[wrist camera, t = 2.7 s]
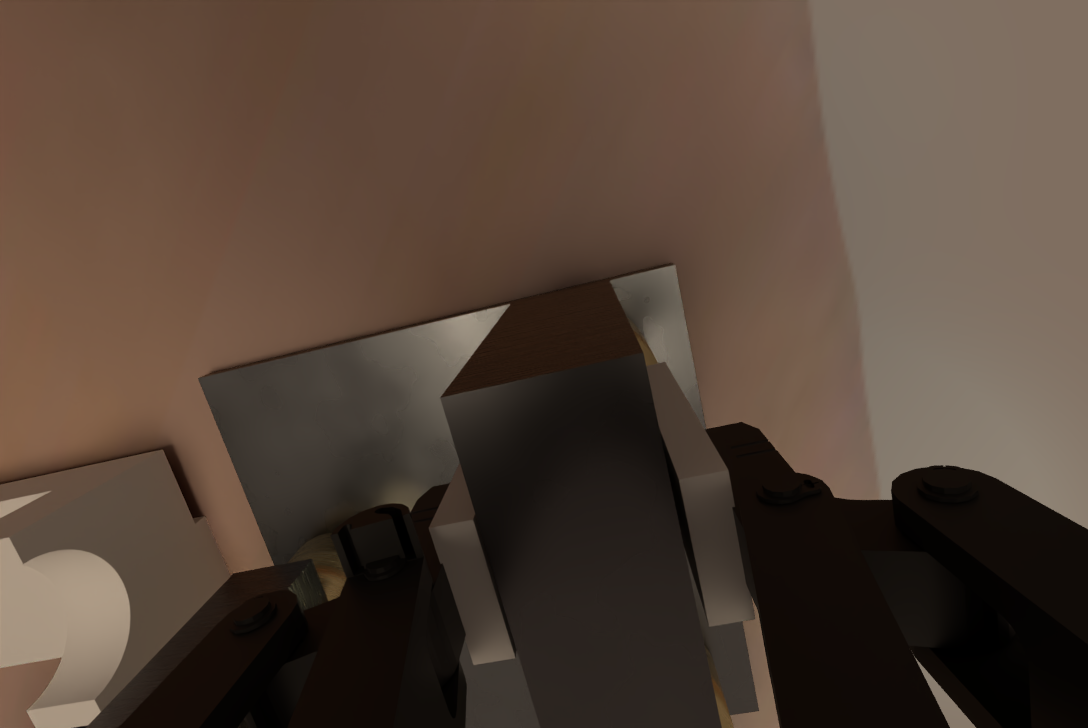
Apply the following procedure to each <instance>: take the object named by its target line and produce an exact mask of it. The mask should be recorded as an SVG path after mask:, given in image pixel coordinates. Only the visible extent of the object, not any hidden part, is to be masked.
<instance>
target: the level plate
mask: <svg viewBox="0 0 1088 728" xmlns="http://www.w3.org/2000/svg"><path fill="white" fill-rule="evenodd" d="M607 280H610V282H611V284H612V287H613V289H614V291H615V293H616V295H617V297H618V299H619V302H620V304H621V306H622V308H623V310H624V312H625V314H626V317H627V318H628V319H630V320H631V321H632V322H633V323H634V324H635V325H636V326H637V328H638V329H639V330H640V331H641V333H642V335H643V336H644V338H645V340H646V341H647V343H648V345H649V347H650V349H651V351H652V353H653V355H654V356H655V358H656V360H657V362H658V363H662V362H665V363H666V364H667V366H668V368H669V369H670V371H671V373H672V375H673V376H674V378H675V380H676V381H677V383H678V385H679V387H680V388H681V390H682V392H683V393H684V395H685V397H686V398H687V400H688V402H689V404H690V405H691V407H692V409H693V410H694V412H695V414H696V416H697V417H698V419H699V421H700V422H701V424H702V426H703V428H704V429H706V426H705V421H704V416H703V410H702V405H701V400H700V394H699V389H698V384H697V378H696V373H695V368H694V363H693V357H692V352H691V347H690V341H689V336H688V331H687V325H686V320H685V315H684V309H683V304H682V299H681V293H680V288H679V283H678V277H677V272H676V267H675V264H673V263H669V264H664V265H660V266H656V267H652V268H648V269H644V270H639V271H635V272H631V273H627V274H623V275H618V276H614V277H610V278H606V279H602V280H597V281H593V282H589V283H585V284H581V285H577V286H572V287H568V288H564V289H560V290H556V291H551V292H547V293H543V294H539V295H535V296H530V297H526V298H522V299H518V300H514V301H510V302H505V303H501V304H497V305H493V306H489V307H484V308H480V309H476V310H472V311H468V312H463V313H459V314H455V315H451V316H447V317H443V318H438V319H434V320H430V321H426V322H422V323H417V324H413V325H409V326H405V327H401V328H396V329H392V330H388V331H384V332H380V333H376V334H371V335H367V336H363V337H359V338H355V339H350V340H346V341H342V342H338V343H334V344H329V345H325V346H321V347H317V348H313V349H309V350H304V351H300V352H296V353H292V354H288V355H283V356H279V357H275V358H271V359H267V360H262V361H258V362H254V363H250V364H246V365H242V366H237V367H233V368H229V369H225V370H221V371H216V372H212V373H209V374H207V375H205V376H202V377H200V378H198V379H199V382H200V384H201V387H202V389H203V392H204V394H205V397H206V399H207V402H208V404H209V406H210V409H211V411H212V414H213V416H214V419H215V421H216V424H217V426H218V428H219V431H220V433H221V436H222V438H223V441H224V443H225V446H226V448H227V450H228V453H229V455H230V458H231V460H232V463H233V465H234V468H235V470H236V473H237V475H238V477H239V480H240V482H241V485H242V487H243V490H244V492H245V495H246V497H247V499H248V502H249V504H250V507H251V509H252V512H253V514H254V517H255V519H256V521H257V524H258V526H259V529H260V531H261V534H262V536H263V539H264V541H265V543H266V546H267V548H268V551H269V553H270V556H271V558H272V561H273V563H274V566H276V565H281V564H286V563H288V562H289V560H290V559H291V558H292V557H293V556H294V554H295V553H296V552H297V551H298V550H299V549H300V548H301V546H303V545H304V544H305V543H306V542H308V541H309V540H311V539H313V538H315V537H317V536H320V535H323V534H327V533H333V531H334V530H335V529H336V528H337V527H338V526H339V525H340V524H342V523H343V522H344V521H346V520H347V519H348V518H350V517H352V516H354V515H356V514H358V513H360V512H362V511H364V510H367V509H370V508H372V507H375V506H379V505H384V504H389V503H399V504H404V505H405V506H407V507H409V510H410V512H411V510H412V508H413V507H414V505H415V503H416V501H417V500H418V499H419V498H420V497H421V496H422V495H423V494H424V493H426V492H427V491H428V490H429V489H430V488H431V487H433V486H438V485H443V484H448V483H450V482H451V480H452V478H453V476H454V474H455V472H456V470H457V467H458V465H459V463H460V462H459V459H458V455H457V452H456V449H455V445H454V442H453V439H452V435H451V432H450V429H449V426H448V422H447V419H446V416H445V412H444V409H443V406H442V403H441V399H440V397H441V396H442V394H443V393H444V392H445V390H446V389H447V388H448V387H449V385H450V384H451V383H452V381H453V380H454V379H455V377H456V376H457V375H458V373H459V372H460V371H461V369H462V368H463V367H464V365H465V364H466V363H467V361H468V360H469V359H470V357H471V356H472V355H473V353H474V352H475V351H476V349H477V348H478V347H479V345H480V344H481V343H482V341H483V340H484V339H485V337H486V336H487V335H488V333H489V332H490V331H491V329H492V328H493V327H494V325H495V324H496V323H497V321H498V320H499V319H500V317H501V316H502V315H503V313H504V312H505V311H506V309H507V308H508V307H509V305H510V304H511V303H515V302H519V301H523V300H528V299H532V298H536V297H540V296H544V295H549V294H553V293H557V292H561V291H565V290H570V289H574V288H578V287H582V286H586V285H591V284H595V283H599V282H603V281H607ZM685 554H686V552H685ZM686 559H687V564H688V568H689V573H690V578H691V583H692V588H693V592H694V597H695V602H696V607H697V611H698V616H699V621H700V626H701V631H702V635H703V640H704V645H705V647H706V648H707V649H708V651H709V652H710V654H711V656H712V658H713V661H714V664H715V668H716V671H717V674H718V677H719V681H720V684H721V687H722V691H723V694H724V697H725V701H726V704H727V707H728V711H729V714H730V715H734V714H741V713H748V712H755V711H759V708H758V703H757V698H756V692H755V687H754V682H753V677H752V671H751V666H750V661H749V655H748V650H747V645H746V639H745V634H744V629H743V623H742V621H741V622H735V623H729V624H723V625H717V626H711V627H709V625H708V622H707V618H706V615H705V612H704V609H703V606H702V603H701V600H700V596H699V593H698V590H697V587H696V584H695V581H694V577H693V574H692V571H691V568H690V565H689V562H688V558H687V555H686ZM459 660H460V663H461V666H462V669H463V672H464V675H465V679H466V683H467V696H466V725H465V728H540V725H539V722H538V718H537V715H536V712H535V708H534V705H533V702H532V699H531V695H530V692H529V689H528V685H527V682H526V679H525V676H524V672H523V669H522V666H521V662H520V659H519V656H518V653H517V651H516V658H514V659H508V660H502V661H496V662H489V663H483V664H477V665H473V662H472V659H471V656H470V653H469V650H468V647H467V644H466V640H464V644H463V648H462V651H461V655H460V659H459Z"/></svg>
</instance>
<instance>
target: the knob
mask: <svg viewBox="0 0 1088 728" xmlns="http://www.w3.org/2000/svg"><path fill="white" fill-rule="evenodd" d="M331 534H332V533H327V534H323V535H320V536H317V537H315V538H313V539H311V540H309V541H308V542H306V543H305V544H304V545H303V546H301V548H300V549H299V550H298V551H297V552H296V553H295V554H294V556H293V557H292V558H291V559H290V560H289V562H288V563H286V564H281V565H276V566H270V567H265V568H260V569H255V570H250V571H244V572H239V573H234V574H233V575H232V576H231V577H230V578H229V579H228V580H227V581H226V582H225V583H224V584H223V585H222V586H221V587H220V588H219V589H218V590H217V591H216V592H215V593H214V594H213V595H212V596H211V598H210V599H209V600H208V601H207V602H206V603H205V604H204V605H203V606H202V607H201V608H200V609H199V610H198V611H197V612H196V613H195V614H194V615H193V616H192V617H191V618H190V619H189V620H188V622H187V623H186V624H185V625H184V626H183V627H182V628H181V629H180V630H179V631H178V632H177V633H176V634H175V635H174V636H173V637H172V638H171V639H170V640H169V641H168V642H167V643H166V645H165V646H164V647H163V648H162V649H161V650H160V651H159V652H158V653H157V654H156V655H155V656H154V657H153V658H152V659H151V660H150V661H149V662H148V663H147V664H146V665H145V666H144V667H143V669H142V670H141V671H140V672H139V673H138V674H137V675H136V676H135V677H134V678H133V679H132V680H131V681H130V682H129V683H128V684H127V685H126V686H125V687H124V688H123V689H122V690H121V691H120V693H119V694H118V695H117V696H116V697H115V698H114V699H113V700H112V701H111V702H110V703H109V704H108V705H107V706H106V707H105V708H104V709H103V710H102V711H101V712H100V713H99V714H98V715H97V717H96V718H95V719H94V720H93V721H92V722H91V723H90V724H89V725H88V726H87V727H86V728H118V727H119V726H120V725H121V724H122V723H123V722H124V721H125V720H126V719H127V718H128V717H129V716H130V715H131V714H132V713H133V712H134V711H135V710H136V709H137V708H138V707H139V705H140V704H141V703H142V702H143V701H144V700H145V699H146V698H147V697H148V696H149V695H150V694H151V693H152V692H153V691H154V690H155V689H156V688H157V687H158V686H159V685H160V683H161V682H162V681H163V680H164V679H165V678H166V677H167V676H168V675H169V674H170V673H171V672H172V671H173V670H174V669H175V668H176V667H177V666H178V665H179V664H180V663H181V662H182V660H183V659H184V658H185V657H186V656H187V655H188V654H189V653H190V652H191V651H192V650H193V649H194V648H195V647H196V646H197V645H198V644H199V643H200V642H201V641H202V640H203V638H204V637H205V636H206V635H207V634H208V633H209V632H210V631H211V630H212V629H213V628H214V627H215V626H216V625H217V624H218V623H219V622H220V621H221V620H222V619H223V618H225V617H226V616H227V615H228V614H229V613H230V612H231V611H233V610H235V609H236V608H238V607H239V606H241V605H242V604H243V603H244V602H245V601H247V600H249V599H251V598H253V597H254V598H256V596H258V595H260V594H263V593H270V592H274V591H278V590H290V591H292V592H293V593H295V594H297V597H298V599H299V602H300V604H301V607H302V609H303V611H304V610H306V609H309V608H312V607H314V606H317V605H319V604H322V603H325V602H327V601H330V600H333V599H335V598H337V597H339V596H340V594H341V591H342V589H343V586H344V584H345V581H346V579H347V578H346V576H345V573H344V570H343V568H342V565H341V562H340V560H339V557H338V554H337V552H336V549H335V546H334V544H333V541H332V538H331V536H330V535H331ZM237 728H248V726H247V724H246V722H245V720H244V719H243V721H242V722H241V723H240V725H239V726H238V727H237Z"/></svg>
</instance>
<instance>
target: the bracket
mask: <svg viewBox="0 0 1088 728" xmlns="http://www.w3.org/2000/svg"><path fill="white" fill-rule="evenodd" d="M230 577H231V576H230V573H229V571H228V569H227V566H226V564H225V562H224V559H223V557H222V555H221V552H220V550H219V547H218V545H217V543H216V540H215V538H214V536H213V533H212V531H211V529H210V526H209V524H208V522H207V519H206V517H205V516H202V517H197V518H192V515H191V513H190V511H189V509H188V506H187V504H186V502H185V499H184V497H183V495H182V492H181V490H180V488H179V486H178V483H177V481H176V479H175V476H174V474H173V472H172V469H171V467H170V465H169V462H168V460H167V458H166V456H165V453H164V451H163V449H162V450H158V451H153V452H148V453H144V454H139V455H135V456H130V457H125V458H121V459H116V460H111V461H107V462H102V463H98V464H93V465H88V466H84V467H79V468H75V469H70V470H65V471H61V472H56V473H51V474H47V475H42V476H38V477H33V478H28V479H24V480H19V481H15V482H10V483H5V484H1V485H0V668H3V667H9V666H15V665H21V664H26V663H32V662H38V661H44V660H49V659H55V658H61V657H62V659H61V662H60V664H59V666H58V669H57V671H56V673H55V675H54V676H53V678H52V680H51V682H50V683H49V685H48V686H47V688H46V689H45V690H44V692H43V693H42V694H41V696H40V697H39V698H38V699H37V700H36V701H35V702H34V704H33V705H32V706H30V707H29V708H28V709H27V710H26V712H27V713H28V715H29V717H30V719H31V720H32V722H33V724H34V726H35V728H74V727H80V726H87V725H89V724H90V723H91V722H92V721H93V720H94V719H95V718H96V717H97V715H98V714H99V713H100V712H101V711H102V710H103V709H104V708H105V707H106V706H107V705H108V704H109V703H110V702H111V701H112V700H113V699H114V698H115V697H116V696H117V695H118V694H119V693H120V691H121V690H122V689H123V688H124V687H125V686H126V685H127V684H128V683H129V682H130V681H131V680H132V679H133V678H134V677H135V676H136V675H137V674H138V673H139V672H140V671H141V670H142V669H143V667H144V666H145V665H146V664H147V663H148V662H149V661H150V660H151V659H152V658H153V657H154V656H155V655H156V654H157V653H158V652H159V651H160V650H161V649H162V648H163V647H164V646H165V645H166V643H167V642H168V641H169V640H170V639H171V638H172V637H173V636H174V635H175V634H176V633H177V632H178V631H179V630H180V629H181V628H182V627H183V626H184V625H185V624H186V623H187V622H188V620H189V619H190V618H191V617H192V616H193V615H194V614H195V613H196V612H197V611H198V610H199V609H200V608H201V607H202V606H203V605H204V604H205V603H206V602H207V601H208V600H209V599H210V598H211V596H212V595H213V594H214V593H215V592H216V591H217V590H218V589H219V588H220V587H221V586H222V585H223V584H224V583H225V582H226V581H227V580H228V579H229V578H230Z"/></svg>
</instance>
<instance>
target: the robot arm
mask: <svg viewBox="0 0 1088 728" xmlns="http://www.w3.org/2000/svg"><path fill="white" fill-rule="evenodd" d="M646 367H647V372H648V377H649V382H650V387H651V391H652V396H653V401H654V406H655V411H656V415H657V420H658V425H659V430H660V434H661V439H662V444H663V449H664V454H665V458H666V463H667V468H668V473H669V477H670V482H671V487H672V492H673V497H674V501H675V506H676V511H677V516H678V521H679V525H680V530H681V535H682V540H683V544H684V549H685V552H686V555H687V558H688V562H689V565H690V568H691V571H692V574H693V577H694V581H695V584H696V587H697V590H698V593H699V596H700V600H701V603H702V606H703V609H704V612H705V615H706V618H707V622H708V625H709V627H711V626H717V625H723V624H729V623H735V622H741V621H747V620H754V619H755V614H754V609H753V603H752V598H753V600H754V603H755V605H756V607H757V609H758V613H759V618H760V624H761V629H762V635H763V640H764V646H765V652H766V657H767V663H768V668H769V674H770V678H771V683H772V688H773V694H774V699H775V704H776V710H777V715H778V720H779V726H780V728H950V727H949V725H948V723H947V721H946V719H945V717H944V715H943V713H942V711H941V709H940V707H939V705H938V703H937V701H936V699H935V697H934V695H933V693H932V691H931V689H930V687H929V685H928V683H927V681H926V679H925V677H924V675H923V673H922V671H921V669H920V667H919V665H918V663H917V661H916V659H917V660H918V661H919V662H920V663H921V665H922V666H923V667H924V668H925V669H926V670H927V671H928V673H929V674H930V675H931V676H932V677H933V678H934V679H935V681H936V682H937V683H938V684H939V685H940V686H941V688H942V689H943V690H944V691H945V692H946V693H947V694H948V695H949V697H950V698H951V699H952V700H953V701H954V702H955V704H957V706H958V707H959V708H960V709H961V710H962V712H963V713H964V714H965V715H966V716H967V717H968V719H969V720H970V721H971V722H972V723H973V724H974V725H975V727H976V728H1088V529H1086V528H1084V527H1082V526H1081V525H1079V524H1077V523H1075V522H1073V521H1071V520H1070V519H1068V518H1066V517H1064V516H1063V515H1061V514H1059V513H1057V512H1055V511H1054V510H1052V509H1050V508H1048V507H1046V506H1045V505H1043V504H1041V503H1039V502H1037V501H1036V500H1034V499H1032V498H1030V497H1028V496H1027V495H1025V494H1023V493H1021V492H1019V491H1018V490H1016V489H1014V488H1012V487H1010V486H1009V485H1007V484H1005V483H1003V482H1002V481H999V480H998V479H996V478H994V477H991V476H989V475H986V474H984V473H981V472H979V471H974V470H969V469H964V468H960V467H956V466H946V467H943V466H942V465H941V466H930V467H927V468H919V469H914V470H911V471H908V472H905V473H903V474H900V475H899V476H898V477H897V478H896V479H895V480H894V481H892V489H891V493H892V500H847V499H841V498H834V496H833V494H832V492H831V490H830V488H829V487H828V486H827V485H826V484H825V483H824V482H823V481H822V480H820V479H818V478H815V477H813V476H811V475H807V474H801V473H795V472H794V470H793V469H792V468H791V467H790V466H789V464H788V463H787V462H786V461H785V460H784V458H783V457H782V456H781V455H780V454H779V453H778V451H777V450H776V451H775V448H774V447H773V445H772V444H771V443H770V442H768V439H767V438H766V437H765V436H764V435H763V433H762V432H761V431H760V430H759V429H758V428H755V427H753V426H750V425H748V424H745V423H743V422H739V423H734V424H730V425H725V426H720V427H715V428H710V429H704V428H703V426H702V424H701V422H700V421H699V419H698V417H697V416H696V414H695V412H694V410H693V409H692V407H691V405H690V404H689V402H688V400H687V398H686V397H685V395H684V393H683V392H682V390H681V388H680V387H679V385H678V383H677V381H676V380H675V378H674V376H673V375H672V373H671V371H670V369H669V368H668V366H667V364H666V363H665V362H662V363H657V364H653V365H648V366H646ZM330 536H331V538H332V541H333V544H334V546H335V549H336V552H337V554H338V557H339V560H340V562H341V565H342V568H343V570H344V573H345V576H346V578H347V579H346V581H345V584H344V586H343V589H342V591H341V594H340V596H339V597H337V598H335V599H333V600H330V601H327V602H325V603H322V604H319V605H317V606H314V607H312V608H309V609H306V610H304V611H303V609H302V607H301V604H300V602H299V599H298V597H297V594H295V593H293V592H292V591H290V590H278V591H274V592H270V593H263V594H260V595H258V596H256V598H254V597H253V598H251V599H249V600H247V601H245V602H244V603H243V604H242V605H241V606H239V607H238V608H236V609H235V610H233V611H231V612H230V613H229V614H228V615H227V616H226V617H225V618H223V619H222V620H221V621H220V622H219V623H218V624H217V625H216V626H215V627H214V628H213V629H212V630H211V631H210V632H209V633H208V634H207V635H206V636H205V637H204V638H203V640H202V641H201V642H200V643H199V644H198V645H197V646H196V647H195V648H194V649H193V650H192V651H191V652H190V653H189V654H188V655H187V656H186V657H185V658H184V659H183V660H182V662H181V663H180V664H179V665H178V666H177V667H176V668H175V669H174V670H173V671H172V672H171V673H170V674H169V675H168V676H167V677H166V678H165V679H164V680H163V681H162V682H161V683H160V685H159V686H158V687H157V688H156V689H155V690H154V691H153V692H152V693H151V694H150V695H149V696H148V697H147V698H146V699H145V700H144V701H143V702H142V703H141V704H140V705H139V707H138V708H137V709H136V710H135V711H134V712H133V713H132V714H131V715H130V716H129V717H128V718H127V719H126V720H125V721H124V722H123V723H122V724H121V725H120V726H119V727H118V728H237V727H238V726H239V725H240V723H241V722H242V721H243V719H244V720H245V722H246V724H247V726H248V728H465V725H466V696H467V683H466V679H465V675H464V672H463V669H462V666H461V663H460V660H459V659H460V655H461V651H462V648H463V644H464V640H466V644H467V647H468V650H469V653H470V656H471V659H472V662H473V665H477V664H483V663H489V662H496V661H502V660H508V659H514V658H516V651H517V649H516V646H515V643H514V639H513V636H512V633H511V630H510V626H509V623H508V620H507V616H506V613H505V610H504V607H503V603H502V600H501V597H500V593H499V590H498V587H497V583H496V580H495V577H494V574H493V570H492V567H491V564H490V560H489V557H488V554H487V551H486V547H485V544H484V541H483V537H482V534H481V531H480V528H479V524H478V521H477V518H476V514H475V511H474V508H473V505H472V501H471V498H470V495H469V491H468V488H467V485H466V482H465V478H464V475H463V472H462V468H461V465H460V463H459V465H458V467H457V470H456V472H455V474H454V476H453V478H452V480H451V482H450V483H448V484H443V485H438V486H433V487H431V488H430V489H429V490H428V491H427V492H426V493H424V494H423V495H422V496H421V497H420V498H419V499H418V500H417V501H416V503H415V505H414V507H413V508H412V510H411V512H410V510H409V507H407V506H405V505H404V504H399V503H389V504H384V505H379V506H375V507H372V508H370V509H367V510H364V511H362V512H360V513H358V514H356V515H354V516H352V517H350V518H348V519H347V520H346V521H344V522H343V523H342V524H340V525H339V526H338V527H337V528H336V529H335V530H334V531H333V533H332V534H331V535H330ZM751 596H752V598H751ZM913 654H914V655H913ZM914 656H915V657H914ZM915 658H916V659H915Z"/></svg>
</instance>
